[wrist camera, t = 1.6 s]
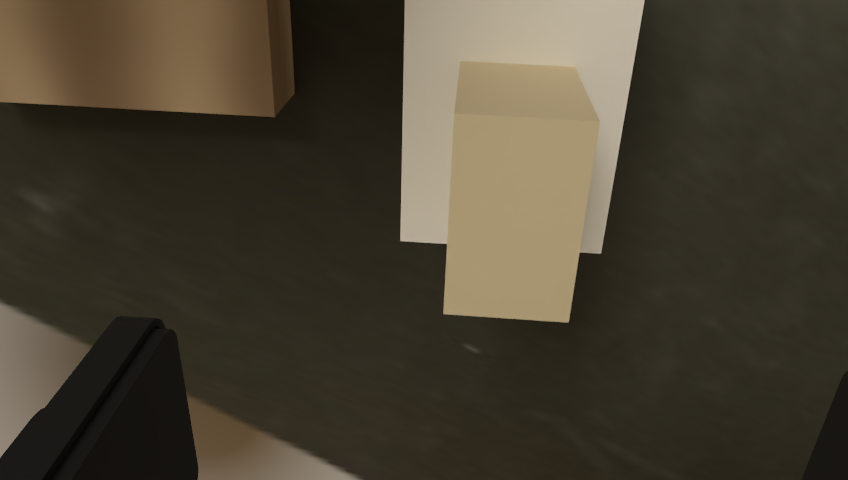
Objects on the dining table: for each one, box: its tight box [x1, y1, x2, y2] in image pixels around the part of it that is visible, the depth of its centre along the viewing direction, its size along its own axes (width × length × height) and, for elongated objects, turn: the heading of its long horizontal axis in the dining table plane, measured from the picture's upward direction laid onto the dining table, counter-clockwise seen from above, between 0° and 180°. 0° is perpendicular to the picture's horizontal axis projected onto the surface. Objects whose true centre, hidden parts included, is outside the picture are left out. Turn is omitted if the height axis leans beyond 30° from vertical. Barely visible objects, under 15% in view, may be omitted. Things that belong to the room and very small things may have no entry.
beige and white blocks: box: [400, 0, 645, 323], centre depth 20 cm, size 6×10×12 cm, turn 178°
